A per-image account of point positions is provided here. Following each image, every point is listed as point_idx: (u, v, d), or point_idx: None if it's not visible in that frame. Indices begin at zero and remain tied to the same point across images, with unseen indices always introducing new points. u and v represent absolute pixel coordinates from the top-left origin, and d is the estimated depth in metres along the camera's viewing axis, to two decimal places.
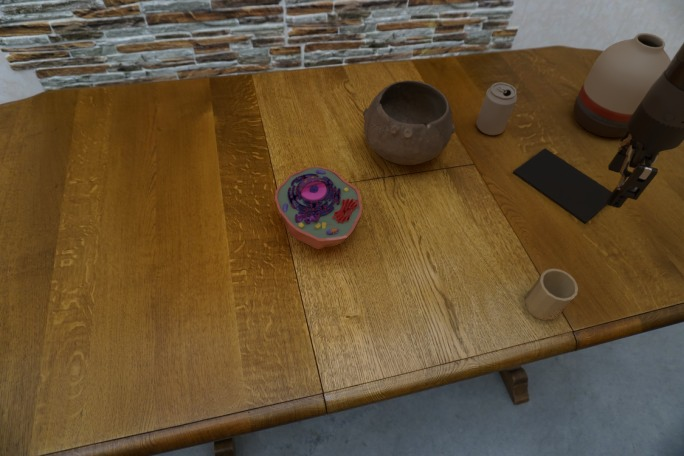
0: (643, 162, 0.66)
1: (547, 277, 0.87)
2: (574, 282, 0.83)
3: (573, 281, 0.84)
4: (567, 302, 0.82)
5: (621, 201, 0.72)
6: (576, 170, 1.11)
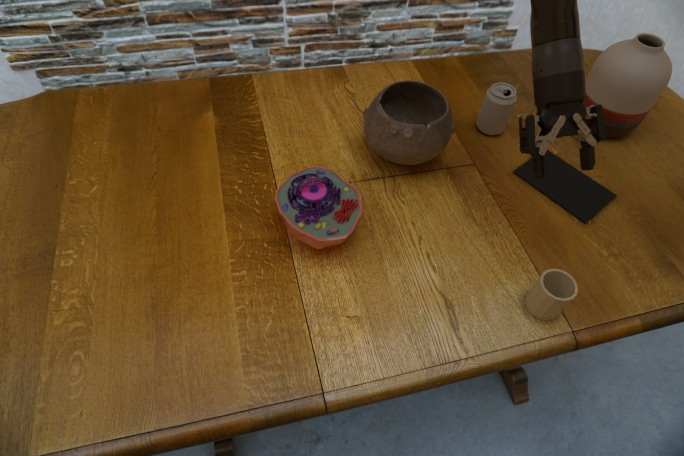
0: None
1: (547, 277, 0.87)
2: (574, 282, 0.83)
3: (573, 281, 0.84)
4: (567, 302, 0.82)
5: (537, 166, 0.74)
6: (576, 170, 1.11)
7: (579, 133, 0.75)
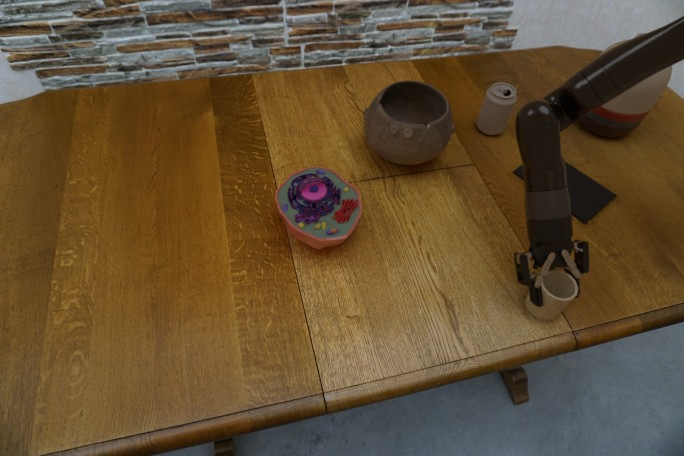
0: (525, 253, 0.83)
1: (547, 277, 0.87)
2: (574, 282, 0.83)
3: (573, 281, 0.84)
4: (567, 302, 0.82)
5: (533, 296, 0.84)
6: (576, 170, 1.11)
7: (566, 265, 0.84)
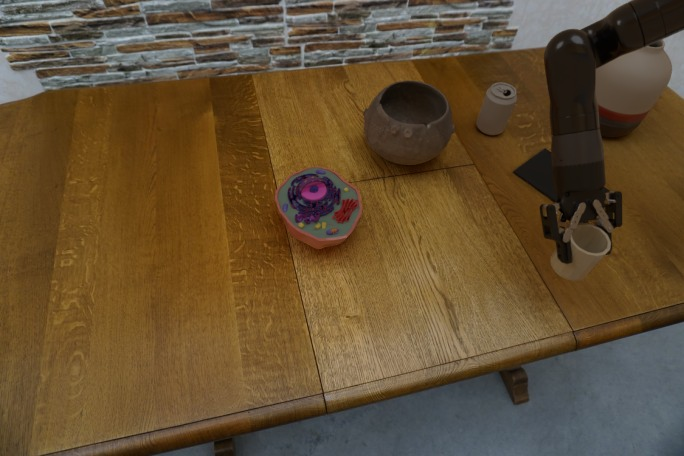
0: (552, 204, 0.75)
1: (575, 233, 0.79)
2: (606, 236, 0.76)
3: (605, 235, 0.76)
4: (599, 258, 0.74)
5: (561, 252, 0.76)
6: None
7: (597, 218, 0.77)
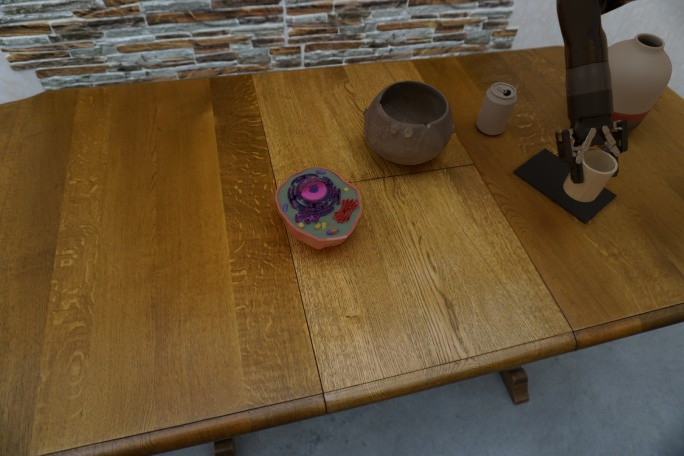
0: None
1: (586, 159, 0.89)
2: (614, 159, 0.86)
3: (612, 159, 0.86)
4: (607, 177, 0.85)
5: (574, 173, 0.86)
6: None
7: (605, 144, 0.87)
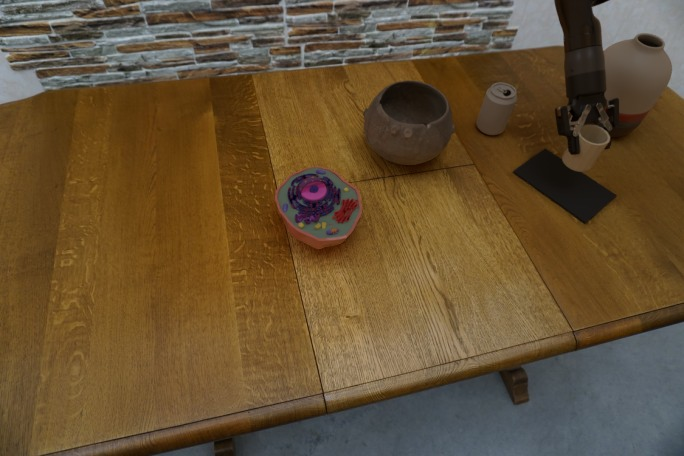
0: None
1: (582, 133, 1.00)
2: (606, 133, 0.97)
3: (605, 132, 0.97)
4: (601, 148, 0.96)
5: (571, 145, 0.97)
6: None
7: (599, 119, 0.98)
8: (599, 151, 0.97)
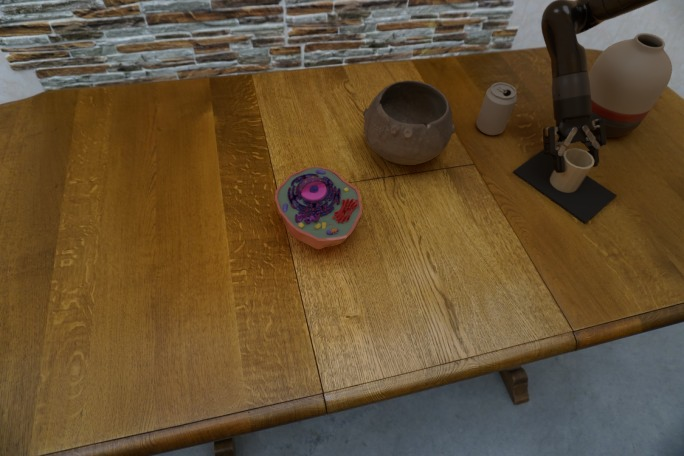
0: None
1: (568, 156, 1.06)
2: (591, 157, 1.03)
3: (590, 156, 1.03)
4: (585, 171, 1.01)
5: (556, 164, 1.02)
6: None
7: (587, 139, 1.03)
8: (584, 174, 1.02)
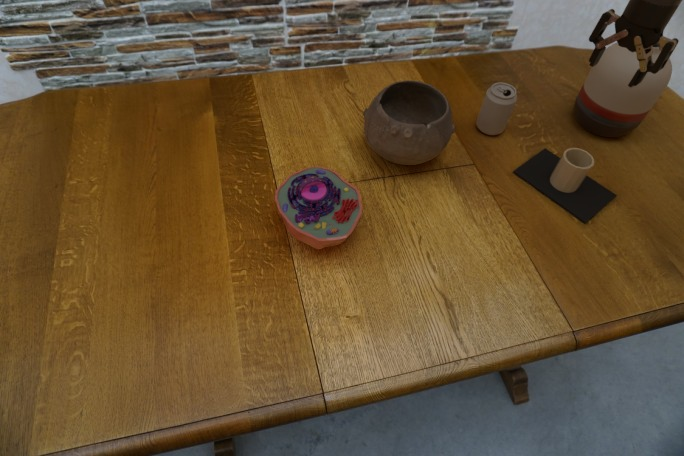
0: (616, 15, 0.86)
1: (568, 156, 1.06)
2: (591, 157, 1.03)
3: (590, 156, 1.03)
4: (585, 171, 1.01)
5: (592, 54, 0.92)
6: None
7: None
8: (584, 174, 1.02)
